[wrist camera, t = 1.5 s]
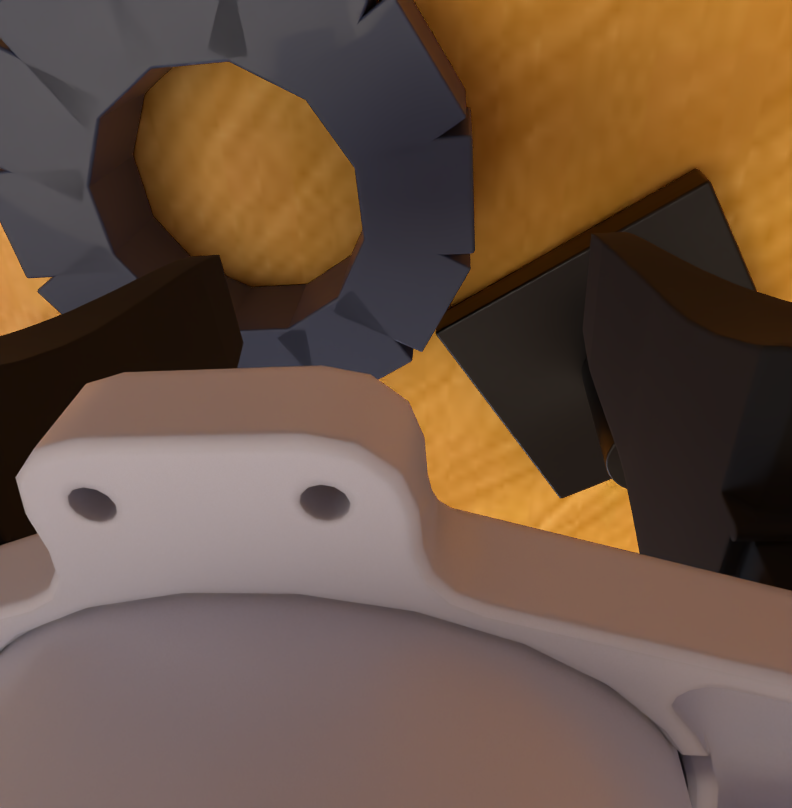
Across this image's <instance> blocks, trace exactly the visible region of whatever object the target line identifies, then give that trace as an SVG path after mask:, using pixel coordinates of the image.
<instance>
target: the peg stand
mask: <svg viewBox="0 0 792 808" xmlns="http://www.w3.org/2000/svg"><path fill="white" fill-rule="evenodd" d="M611 232H628V233H632V234H634V235H636V236H639V237H641V238H643V239H645V240H647V241H648V242H650V243H652V244H654V245H656V246H658V247H660V248H661V249H663V250H665V251H667V252H669V253H671V254H673V255H675V256H676V257H678V258H680V259H682V260H684V261H686V262H688V263H690V264H692V265H694V266H696V267H698V268H700V269H702V270H704V271H707V272H709V273H711V274H713V275H716V276H718V277H720V278H723V279H725V280H727V281H729V282H732V283H734V284H737V285H740V286H742V287H745V288H747V289H750V290H754V291H757V290H756V288H755V285H754V283H753V281H752V278H751V276H750V274H749V271H748V269H747V267H746V264H745V262H744V259H743V257H742V255H741V252H740V250H739V248H738V245H737V243H736V241H735V238H734V236H733V234H732V231H731V229H730V226H729V224H728V222H727V219H726V217H725V215H724V212H723V210H722V208H721V205H720V203H719V201H718V198H717V196H716V194H715V191H714V189H713V186H712V184H711V182H710V181H709V180H708V179H707V178H706V176H705V175H704V174H703V173H702V172H701V171H700V170H699V169H694V170H693V171H691V172H689V173H687V174H686V175H684V176H682V177H680V178H679V179H677V180H675V181H673V182H672V183H670V184H668V185H666V186H665V187H663V188H661V189H659V190H658V191H656V192H654V193H652V194H651V195H649V196H647V197H645V198H644V199H642V200H640V201H638V202H637V203H635V204H633V205H631V206H630V207H628V208H626V209H624V210H623V211H621V212H619V213H617V214H616V215H614V216H612V217H610V218H609V219H607V220H605V221H603V222H602V223H600V224H598V225H596V226H595V227H593V228H591V229H589V230H588V231H586V232H584V233H582V234H580V235H579V236H577V237H575V238H573V239H572V240H570V241H568V242H566V243H565V244H563V245H561V246H559V247H558V248H556V249H554V250H552V251H551V252H549V253H547V254H545V255H544V256H542V257H540V258H538V259H537V260H535V261H533V262H531V263H530V264H528V265H526V266H524V267H523V268H521V269H519V270H517V271H516V272H514V273H512V274H510V275H509V276H507V277H505V278H503V279H502V280H500V281H498V282H496V283H495V284H493V285H491V286H489V287H488V288H486V289H484V290H482V291H481V292H479V293H477V294H475V295H474V296H472V297H470V298H468V299H466V300H465V301H463V302H461V303H459V304H458V305H456V306H454V307H452V308H451V309H449V310H447V311H446V312H445V314H444V315H443V317H442V319H441V321H440V322H439V324H438V326H437V328H436V335H437V336H438V338H439V339H440V340H441V342H442V343H443V344H444V346H445V347H446V348H447V350H448V351H449V352H450V354H451V355H452V356H453V358H454V359H455V360H456V361H457V363H458V364H459V365H460V367H461V368H462V369H463V371H464V372H465V373H466V375H467V376H468V377H469V379H470V380H471V381H472V383H473V384H474V385H475V387H476V388H477V389H478V391H479V392H480V393H481V395H482V396H483V397H484V398H485V400H486V401H487V402H488V404H489V405H490V406H491V408H492V409H493V410H494V412H495V413H496V414H497V416H498V417H499V418H500V420H501V421H502V422H503V424H504V425H505V426H506V428H507V429H508V430H509V432H510V433H511V434H512V435H513V437H514V438H515V439H516V441H517V442H518V443H519V445H520V446H521V447H522V449H523V450H524V451H525V453H526V454H527V455H528V457H529V458H530V459H531V461H532V462H533V463H534V465H535V466H536V467H537V469H538V470H539V471H540V473H541V474H542V475H543V476H544V478H545V479H546V480H547V482H548V483H549V484H550V486H551V487H552V488H553V490H554V491H555V492H556V494H557V495H558V496H559V498H565V497H567V496H570V495H572V494H575V493H577V492H580V491H582V490H585V489H587V488H590V487H592V486H595V485H597V484H600V483H602V482H605V481H607V480H610V479H613V480H614V481H615V482H616V483H617V484H619V485H620V486H622V487H624V488H626V489H627V486H626V481H625V476H624V471H623V468H622V464H621V461H620V457H619V454H618V451H617V448H616V445H615V442H614V439H613V437H612V434H611V431H610V428H609V425H608V422H607V419H606V417H605V414H604V411H603V408H602V405H601V402H600V399H599V397H598V394H597V391H596V388H595V385H594V382H593V379H592V376H591V373H590V370H589V365H588V359H587V354H586V348H585V342H584V335H583V319H584V309H585V298H586V287H587V276H588V265H589V254H590V243H591V234H594V233H611Z"/></svg>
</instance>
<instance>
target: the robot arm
mask: <svg viewBox="0 0 792 808" xmlns="http://www.w3.org/2000/svg"><path fill="white" fill-rule="evenodd" d="M583 335H584V342H585V348H586V354H587V359H588V365H589V370H590V373H591V376H592V379H593V382H594V385H595V388H596V391H597V394H598V397H599V399H600V402H601V405H602V408H603V411H604V414H605V417H606V419H607V422H608V425H609V428H610V431H611V434H612V437H613V439H614V442H615V445H616V448H617V451H618V454H619V457H620V461H621V464H622V468H623V471H624V476H625V481H626V486H627V490H628V495H629V500H630V505H631V510H632V514H633V520H634V525H635V530H636V536H637V541H638V546H639V552H640V554H638V553H634V552H630V551H626V550H622V549H618V548H614V547H610V546H605V545H601V544H597V543H593V542H589V541H585V540H581V539H577V538H573V537H569V536H564V535H560V534H556V533H552V532H548V531H544V530H540V529H536V528H532V527H527V526H523V525H519V524H515V523H511V522H507V521H503V520H499V519H495V518H491V517H486V516H482V515H478V514H474V513H470V512H466V511H462V510H458V509H454V508H450V507H449V506H447V505H445V504H444V503H442V502H441V501H439V500H438V499H437V497H436V496H435V494H434V493H433V491H432V489H431V485H430V481H429V478H428V473H427V462H426V450H425V439H424V435H423V433H422V431H421V428H420V426H419V424H418V422H417V419H416V417H415V415H414V413H413V410H412V408H411V406H410V403H409V401H407V400H406V399H404V398H403V397H402V396H400V395H399V394H397V393H396V392H395V391H393V390H392V389H390V388H389V387H388V386H386V385H385V384H383V383H382V382H381V381H379V380H378V379H376V378H375V377H374V376H372V375H371V374H365V373H360V372H355V371H349V370H344V369H338V368H333V367H328V366H322V365H321V366H292V367H263V368H237V367H238V363H239V359H240V355H241V351H242V347H243V339H242V336H241V332H240V328H239V325H238V321H237V317H236V314H235V310H234V307H233V303H232V299H231V296H230V292H229V289H228V285H227V281H226V278H225V274H224V271H223V267H222V263H221V260H220V256H219V255H209V256H191V257H187V258H183V259H180V260H177V261H174V262H172V263H169V264H167V265H165V266H163V267H160V268H158V269H156V270H154V271H152V272H150V273H148V274H146V275H144V276H142V277H140V278H138V279H136V280H134V281H132V282H130V283H128V284H126V285H124V286H122V287H120V288H118V289H116V290H114V291H112V292H110V293H108V294H106V295H103V296H101V297H99V298H97V299H95V300H93V301H90V302H88V303H86V304H84V305H82V306H80V307H78V308H75V309H73V310H71V311H69V312H66V313H64V314H62V315H59V316H57V317H54V318H52V319H49V320H47V321H44V322H41V323H38V324H36V325H33V326H30V327H27V328H25V329H22V330H19V331H16V332H13V333H10V334H6V335H3V336H0V808H792V302H788V301H785V300H781V299H778V298H775V297H772V296H769V295H766V294H763V293H760V292H757V291H754V290H750V289H747V288H745V287H742V286H740V285H737V284H734V283H732V282H729V281H727V280H725V279H723V278H720V277H718V276H716V275H713V274H711V273H709V272H707V271H704V270H702V269H700V268H698V267H696V266H694V265H692V264H690V263H688V262H686V261H684V260H682V259H680V258H678V257H676V256H675V255H673V254H671V253H669V252H667V251H665V250H663V249H661V248H660V247H658V246H656V245H654V244H652V243H650V242H648V241H647V240H645V239H643V238H641V237H639V236H636V235H634V234H632V233H628V232H611V233H594V234H591V243H590V254H589V265H588V276H587V287H586V298H585V309H584V319H583Z"/></svg>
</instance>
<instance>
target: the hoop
mask: <svg viewBox="0 0 792 808" xmlns="http://www.w3.org/2000/svg"><path fill="white" fill-rule="evenodd" d="M376 2H377V0H0V223H1V225H2V227H3V229H4V231H5V233H6V235H7V237H8V239H9V241H10V244H11V246H12V248H13V250H14V252H15V254H16V256H17V258H18V260H19V262H20V264H21V267H22V269H23V271H24V273H25V275H26V277H27V278H41V277H52V278H50V279H49V280H48V281H47V282H46V283H45V284H44V285H43V286H41V287H40V288H39V289H38V291H37V292H38V293H39V294H40V295H41V296H42V297H43V298H45V299H46V300H47V301H48V302H49V303H50V304H51V305H52V306H53V307H54V308H56V309H57V310H58V311H59V312H60V313H61V314H64V313H66V312H69V311H71V310H73V309H75V308H78V307H80V306H82V305H84V304H86V303H88V302H90V301H93V300H95V299H97V298H99V297H101V296H103V295H106V294H108V293H110V292H112V291H114V290H116V289H118V288H120V287H122V286H124V285H126V284H128V283H130V282H132V281H134V280H136V279H138V278H140V277H142V276H144V275H146V274H148V273H150V272H152V271H154V270H156V269H158V268H160V267H163V266H165V265H167V264H169V263H172V262H174V261H177V260H180V259H183V258H187V257H190V256H189V255H188V253H187V252H186V251H185V250H184V249H183V248H182V247H181V246H180V245H179V244H178V243H177V242H176V241H175V239H174V238H173V237H172V236H171V235H170V234H169V233H168V232H167V231H166V230H165V229H164V228H163V226H162V225H161V224H160V223H159V222H158V221H157V220H156V219H155V218H154V217H153V214H152V211H151V208H150V205H149V202H148V199H147V196H146V193H145V190H144V187H143V184H142V181H141V178H140V175H139V172H138V169H137V166H136V163H135V160H134V157H133V152H134V146H135V141H136V136H137V131H138V126H139V120H140V115H141V110H142V105H143V100H144V94H145V93H146V92H147V91H148V90H149V89H150V88H151V87H152V86H153V85H154V84H155V83H156V82H157V81H158V80H159V79H160V78H161V77H163V76H164V75H165V74H166V73H167V72H168V71H169V70H170V69H171V68H172V67H178V66H188V65H198V64H209V63H219V62H231V63H233V64H235V65H237V66H239V67H241V68H243V69H245V70H247V71H249V72H251V73H253V74H255V75H257V76H259V77H261V78H263V79H265V80H267V81H269V82H271V83H273V84H275V85H277V86H279V87H281V88H283V89H285V90H287V91H289V92H291V93H293V94H295V95H297V96H299V97H301V98H303V99H305V100H306V101H307V103H308V104H309V105H310V107H311V108H312V110H313V111H314V112H315V114H316V115H317V116H318V118H319V119H320V121H321V122H322V123H323V125H324V126H325V128H326V129H327V130H328V132H329V133H330V135H331V136H332V137H333V139H334V140H335V141H336V143H337V144H338V146H339V147H340V148H341V150H342V151H343V153H344V154H345V155H346V157H347V158H348V160H349V161H350V162H351V164H352V165H353V167H354V168H355V175H356V183H357V190H358V198H359V206H360V213H361V221H362V229H363V230H362V232H361V234H360V237H359V239H358V241H357V243H356V246H355V248H354V250H353V252H352V254H351V256H349V257H348V258H346V259H345V260H343V261H341V262H340V263H338V264H337V265H335V266H334V267H332V268H331V269H329V270H328V271H326V272H325V273H323V274H322V275H320V276H319V277H317V278H316V279H314V280H313V281H311V282H310V283H308V284H302V285H283V286H264V287H250V286H248V285H245V284H243V283H241V282H238V281H236V280H234V279H231V278H229V277H227V276H225V278H226V281H227V285H228V289H229V292H230V296H231V299H232V303H233V307H234V310H235V314H236V317H237V321H238V325H239V328H240V332H241V336H242V339H243V347H242V351H241V355H240V359H239V363H238V367H237V368H263V367H292V366H321V365H322V366H328V367H333V368H338V369H344V370H349V371H355V372H360V373H365V374H371V375H372V376H374V377H375V378H376V379H380V378H382V377H384V376H386V375H387V374H389V373H391V372H393V371H395V370H396V369H398V368H400V367H402V366H404V365H406V364H407V363H409V362H411V361H412V357H413V348H414V349H416V350H418V351H421V352H422V351H423V350H424V348H425V346H426V345H427V343H428V341H429V340H430V338H431V336H432V334H433V333H434V331H435V329H436V328H437V326H438V324H439V322H440V321H441V319H442V317H443V315H444V314H445V312H446V310H447V309H448V307H449V305H450V303H451V302H452V300H453V298H454V297H455V295H456V293H457V291H458V290H459V288H460V286H461V285H462V283H463V281H464V279H465V278H466V276H467V274H468V273H469V271H470V268H471V266H470V253H474V251H475V230H474V186H473V141H472V122H471V110H470V108H468V107H466V91H465V88H464V86H463V84H462V83H461V81H460V79H459V78H458V76H457V74H456V73H455V71H454V69H453V67H452V66H451V64H450V62H449V61H448V59H447V57H446V55H445V54H444V52H443V50H442V49H441V47H440V45H439V44H438V42H437V40H436V38H435V37H434V35H433V33H432V32H431V30H430V28H429V27H428V25H427V23H426V21H425V20H424V18H423V16H422V15H421V13H420V11H419V9H418V8H417V6H416V4H415V3H414V1H413V0H379V1H378V2H377V3H376Z"/></svg>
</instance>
